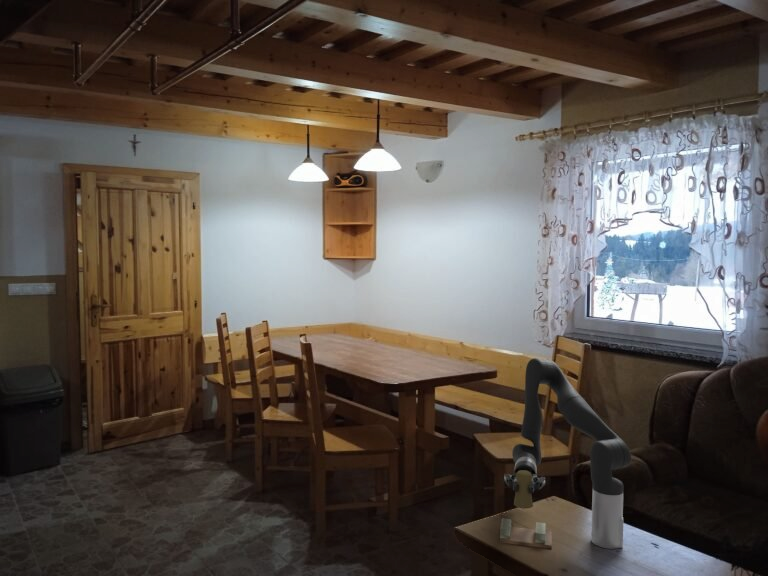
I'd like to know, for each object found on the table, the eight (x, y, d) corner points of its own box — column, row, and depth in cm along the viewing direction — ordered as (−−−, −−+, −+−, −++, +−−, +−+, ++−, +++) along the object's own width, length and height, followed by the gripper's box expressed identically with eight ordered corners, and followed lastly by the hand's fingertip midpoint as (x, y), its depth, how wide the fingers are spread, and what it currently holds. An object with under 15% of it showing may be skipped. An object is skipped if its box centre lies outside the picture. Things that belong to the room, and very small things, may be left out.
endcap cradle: (551, 534, 204) (551, 522, 204) (551, 548, 194) (551, 536, 194) (502, 528, 208) (502, 517, 208) (499, 542, 198) (500, 530, 198)
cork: (534, 508, 198) (535, 475, 197) (515, 508, 198) (516, 474, 197) (530, 500, 204) (531, 468, 203) (512, 500, 204) (512, 468, 203)
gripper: (504, 458, 216) (501, 476, 199) (546, 462, 212) (546, 480, 195) (504, 479, 216) (500, 498, 200) (546, 483, 213) (546, 503, 196)
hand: (523, 489), depth 198 cm, fingers closed on cork, 3 cm apart
